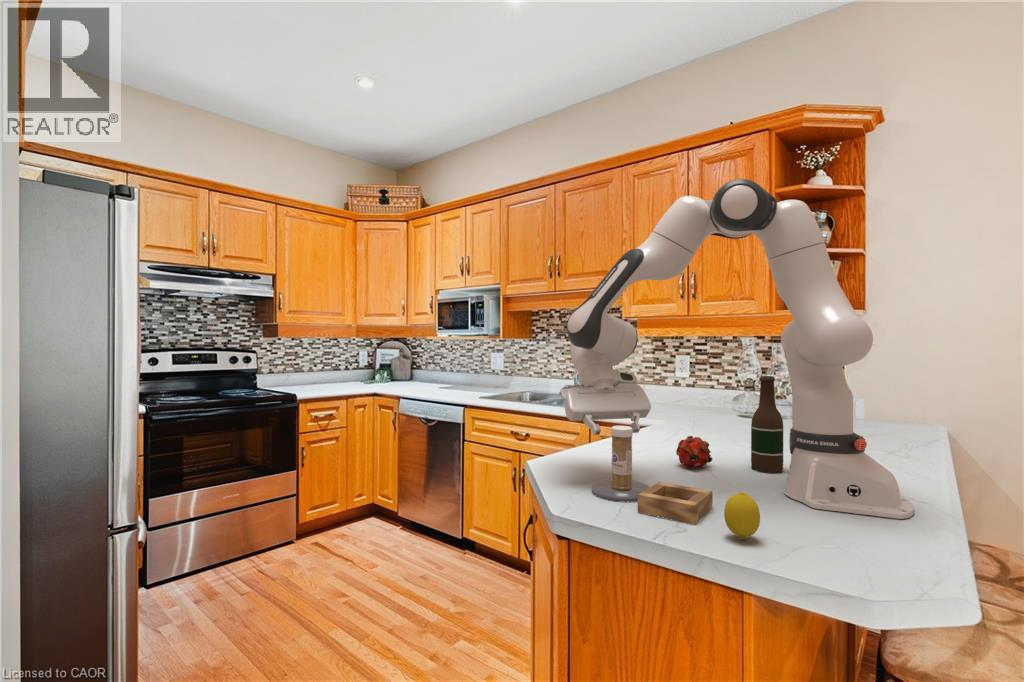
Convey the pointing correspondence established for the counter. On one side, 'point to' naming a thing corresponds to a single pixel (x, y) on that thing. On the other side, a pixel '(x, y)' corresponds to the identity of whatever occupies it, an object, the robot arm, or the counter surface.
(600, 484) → the slate coaster
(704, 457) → the dragon fruit
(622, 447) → the sprinkles bottle
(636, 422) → the robot arm
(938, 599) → the counter surface
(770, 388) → the beer bottle
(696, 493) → the frame
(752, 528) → the lemon
